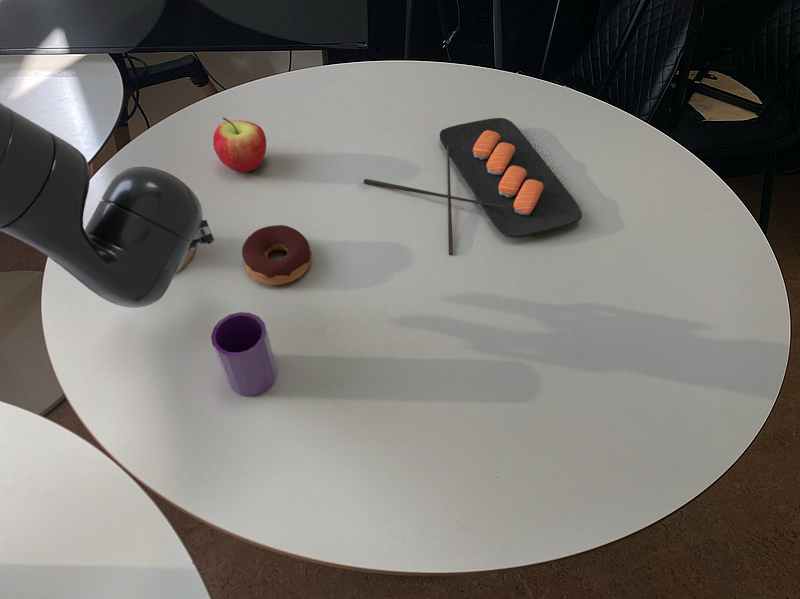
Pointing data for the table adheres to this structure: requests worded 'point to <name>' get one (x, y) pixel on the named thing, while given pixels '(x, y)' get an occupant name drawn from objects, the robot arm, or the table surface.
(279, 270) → the donut
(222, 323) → the cup
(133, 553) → the table surface
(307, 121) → the table surface
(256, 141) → the apple
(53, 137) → the robot arm
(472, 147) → the sushi plate
